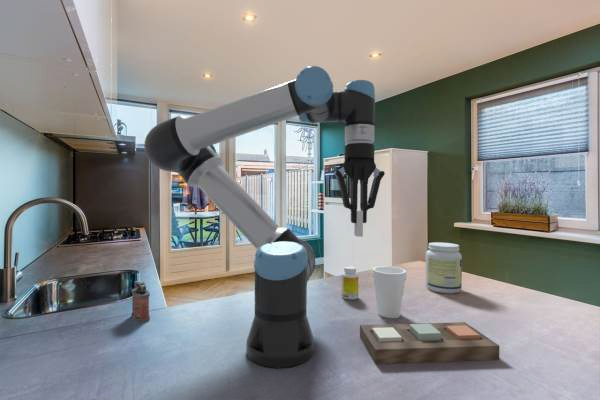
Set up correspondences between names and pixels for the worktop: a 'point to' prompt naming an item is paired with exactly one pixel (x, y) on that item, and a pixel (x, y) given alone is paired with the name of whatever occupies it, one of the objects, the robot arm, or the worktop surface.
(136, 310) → the lighter
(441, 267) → the supplement tub
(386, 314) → the foam cup
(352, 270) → the supplement bottle
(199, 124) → the robot arm
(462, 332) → the terracotta tile
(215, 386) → the worktop surface
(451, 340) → the walnut board
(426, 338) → the sage tile
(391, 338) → the cream tile
